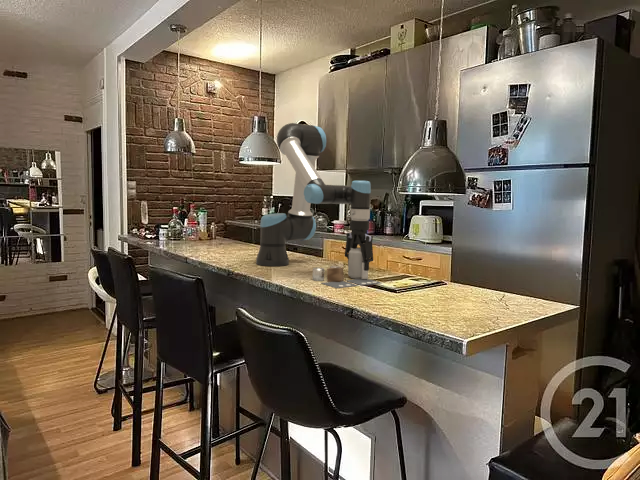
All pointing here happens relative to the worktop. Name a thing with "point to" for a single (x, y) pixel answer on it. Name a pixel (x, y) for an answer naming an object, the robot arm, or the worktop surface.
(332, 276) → the walnut block
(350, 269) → the can
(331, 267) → the tin
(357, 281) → the pad three
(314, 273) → the tin
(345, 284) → the pad two
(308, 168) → the robot arm
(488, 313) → the worktop surface
